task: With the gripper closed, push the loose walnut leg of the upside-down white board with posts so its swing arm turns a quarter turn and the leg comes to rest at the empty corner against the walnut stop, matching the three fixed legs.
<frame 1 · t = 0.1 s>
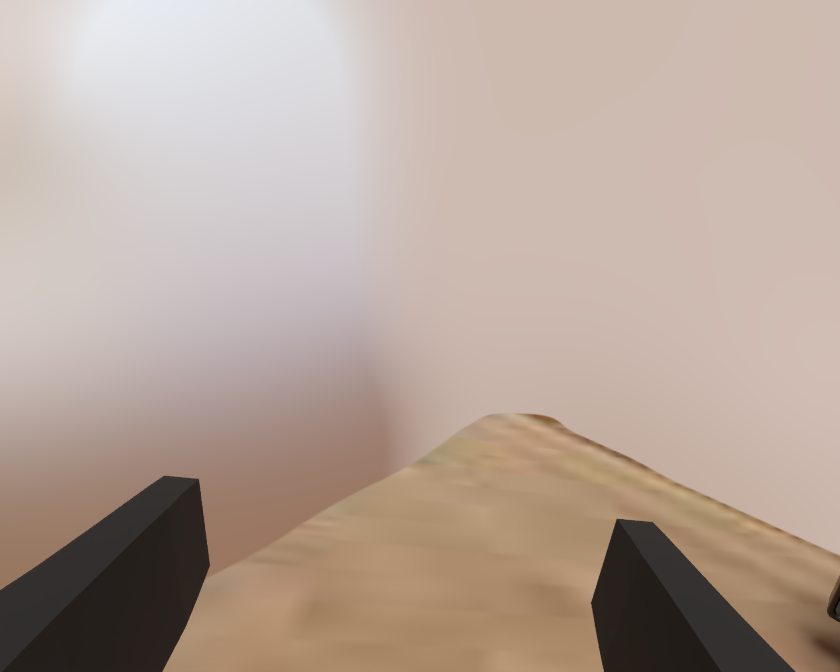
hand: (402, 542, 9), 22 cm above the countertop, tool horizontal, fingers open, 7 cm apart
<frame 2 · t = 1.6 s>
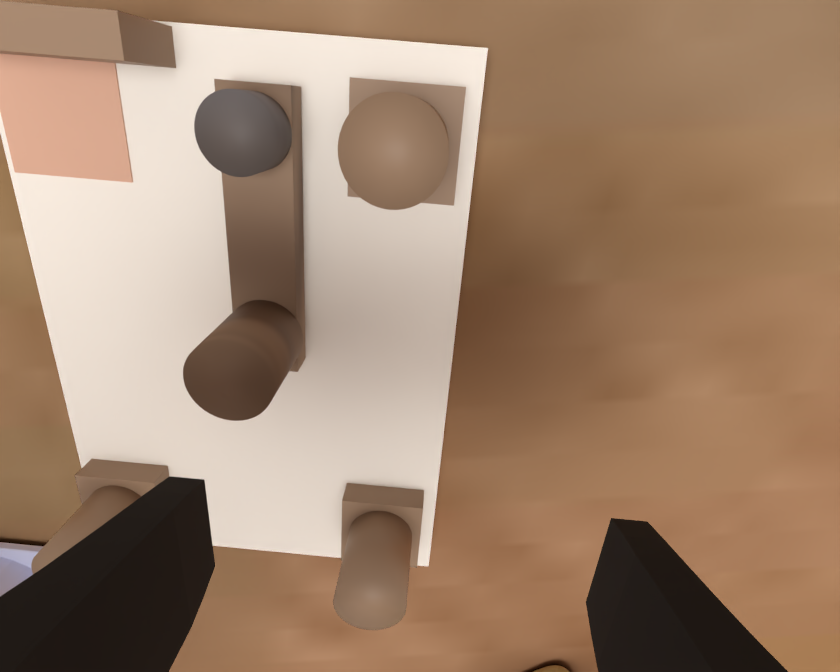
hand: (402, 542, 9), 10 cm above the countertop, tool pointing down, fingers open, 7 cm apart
hinged leg: (248, 250, 14), point 4 cm above the countertop, hinge at 90.0°
white board with posts: (262, 329, 19), on the countertop
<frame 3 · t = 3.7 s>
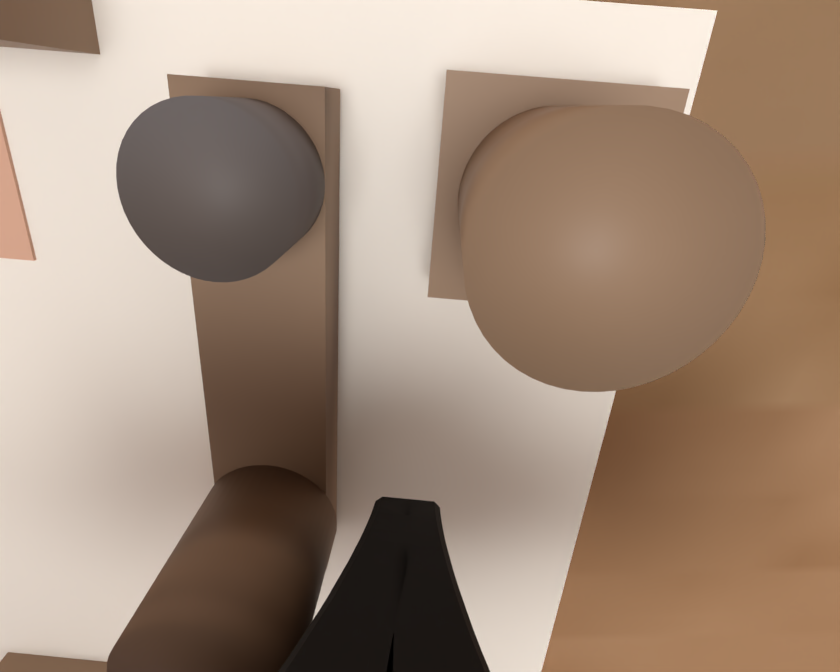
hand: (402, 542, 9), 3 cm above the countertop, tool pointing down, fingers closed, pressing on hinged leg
hinged leg: (239, 408, 7), point 4 cm above the countertop, hinge at 90.0°, touching gripper
white board with posts: (266, 466, 12), on the countertop
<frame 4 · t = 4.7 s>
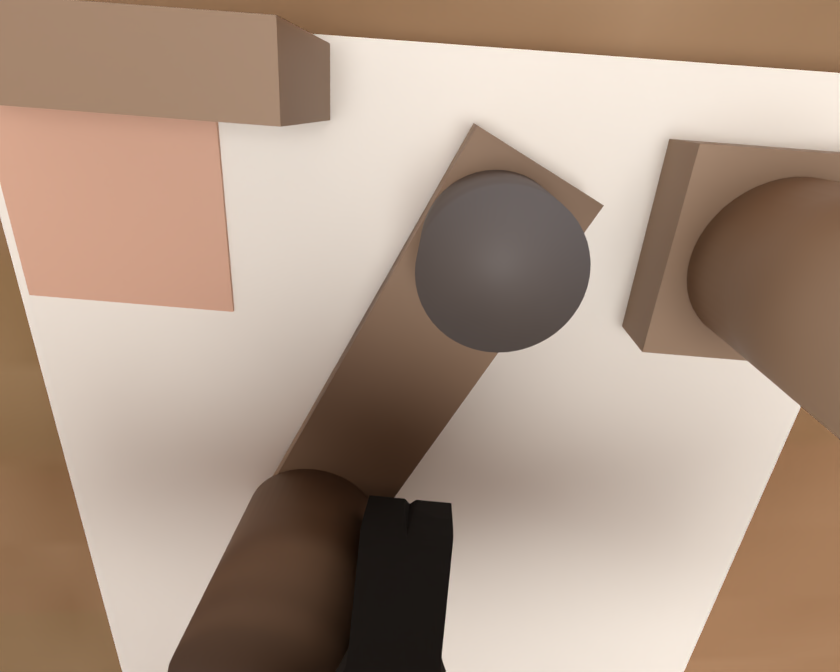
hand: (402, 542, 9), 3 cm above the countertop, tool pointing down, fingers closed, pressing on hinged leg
hinged leg: (383, 438, 7), point 4 cm above the countertop, hinge at 64.2°, touching gripper
white board with posts: (405, 497, 12), on the countertop
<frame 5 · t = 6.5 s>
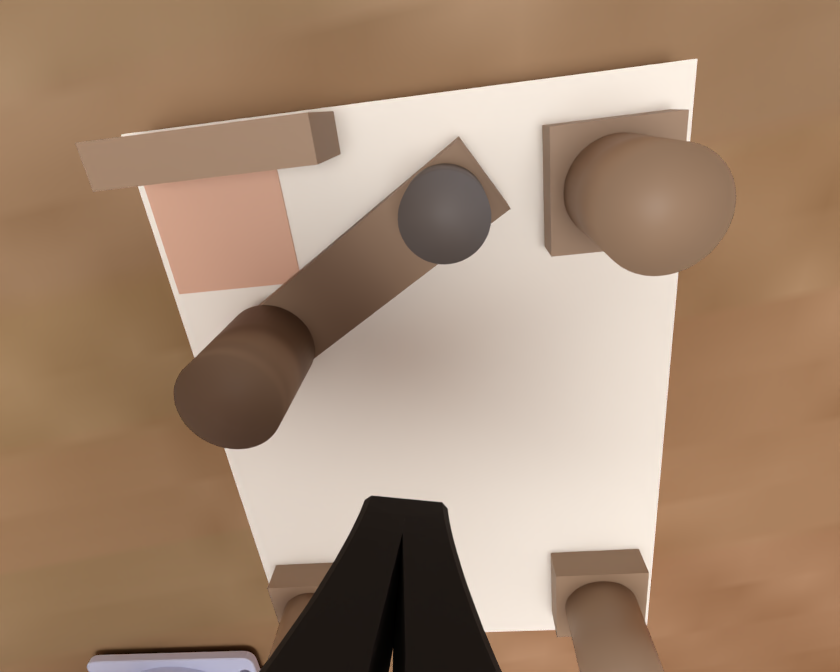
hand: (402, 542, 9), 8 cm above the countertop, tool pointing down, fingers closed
hinged leg: (344, 294, 12), point 4 cm above the countertop, hinge at 32.3°
white board with posts: (436, 403, 18), on the countertop
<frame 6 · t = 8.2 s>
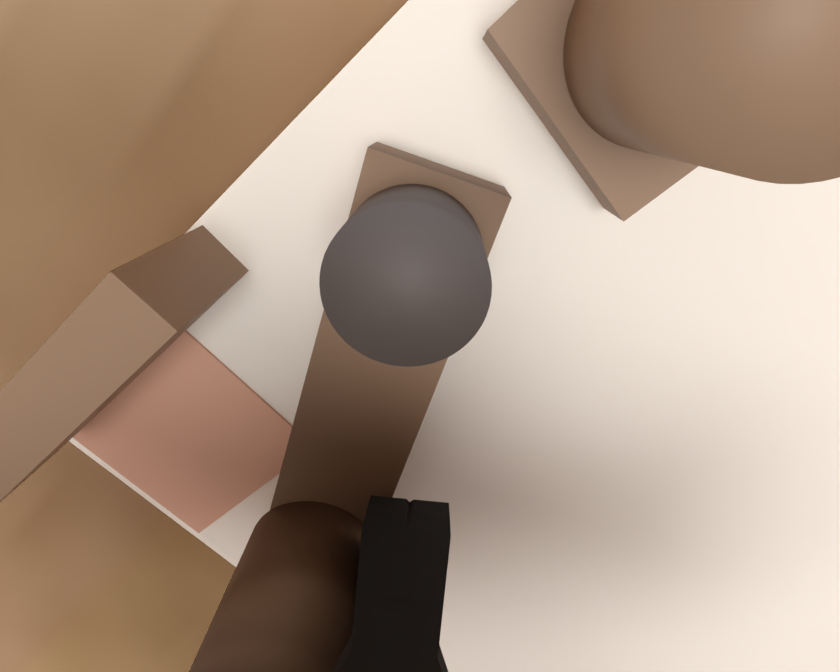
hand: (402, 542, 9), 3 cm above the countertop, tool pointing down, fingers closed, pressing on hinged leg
hinged leg: (345, 464, 8), point 4 cm above the countertop, hinge at 30.8°, touching gripper
white board with posts: (585, 478, 12), on the countertop
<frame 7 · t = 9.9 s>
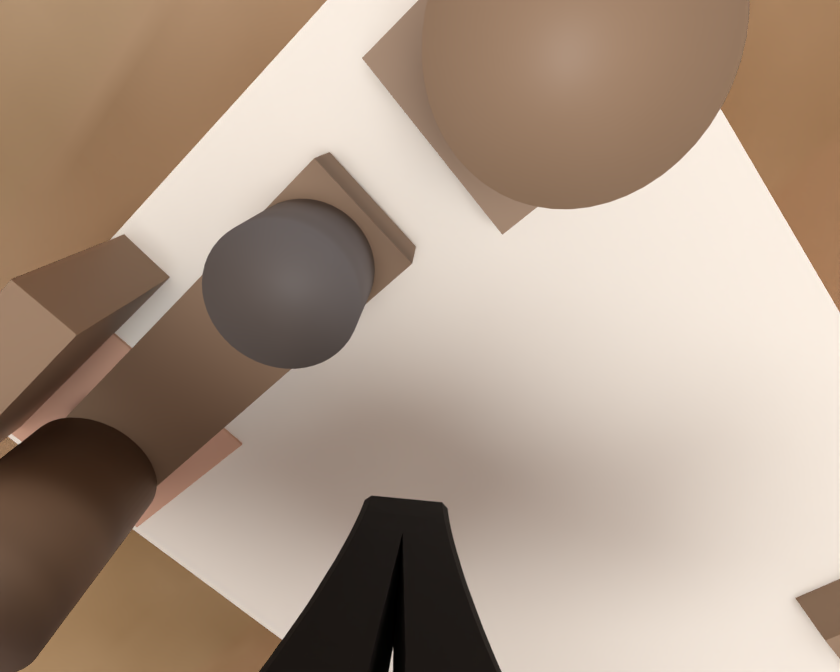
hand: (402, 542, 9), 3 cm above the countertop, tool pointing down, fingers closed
hinged leg: (158, 412, 8), point 4 cm above the countertop, hinge at 1.6°
white board with posts: (513, 477, 12), on the countertop
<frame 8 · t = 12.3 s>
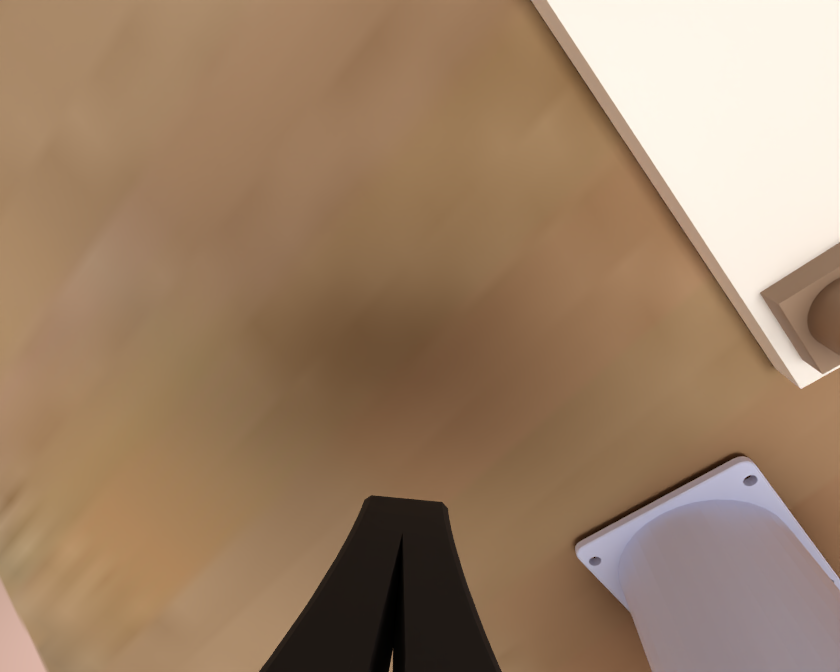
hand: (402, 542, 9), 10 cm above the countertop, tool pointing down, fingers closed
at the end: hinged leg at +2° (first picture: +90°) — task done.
